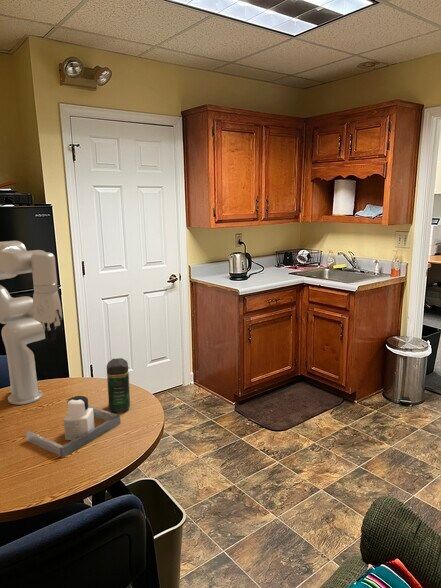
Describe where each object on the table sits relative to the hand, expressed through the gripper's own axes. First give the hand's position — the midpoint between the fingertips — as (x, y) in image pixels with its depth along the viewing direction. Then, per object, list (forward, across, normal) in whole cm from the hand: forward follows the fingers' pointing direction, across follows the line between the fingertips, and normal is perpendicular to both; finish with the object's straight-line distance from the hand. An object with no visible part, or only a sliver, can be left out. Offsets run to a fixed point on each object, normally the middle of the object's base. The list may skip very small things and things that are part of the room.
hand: (50, 340), depth 156 cm
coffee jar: (+29, +14, +17) cm, 37 cm away
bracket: (+29, +15, -4) cm, 33 cm away
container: (+29, +17, -4) cm, 34 cm away
